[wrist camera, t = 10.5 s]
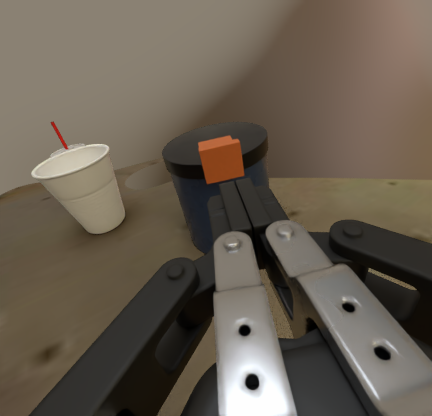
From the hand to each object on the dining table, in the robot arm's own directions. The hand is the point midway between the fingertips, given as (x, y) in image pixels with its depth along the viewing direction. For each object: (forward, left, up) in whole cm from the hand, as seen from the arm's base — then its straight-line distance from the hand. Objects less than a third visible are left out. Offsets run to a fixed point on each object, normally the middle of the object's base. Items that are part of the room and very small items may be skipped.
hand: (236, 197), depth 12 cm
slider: (+2, +11, -3) cm, 11 cm away
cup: (-14, +26, -15) cm, 33 cm away
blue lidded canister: (+3, +15, -14) cm, 21 cm away
